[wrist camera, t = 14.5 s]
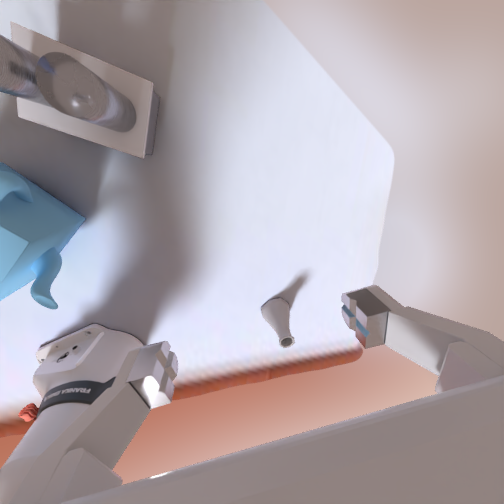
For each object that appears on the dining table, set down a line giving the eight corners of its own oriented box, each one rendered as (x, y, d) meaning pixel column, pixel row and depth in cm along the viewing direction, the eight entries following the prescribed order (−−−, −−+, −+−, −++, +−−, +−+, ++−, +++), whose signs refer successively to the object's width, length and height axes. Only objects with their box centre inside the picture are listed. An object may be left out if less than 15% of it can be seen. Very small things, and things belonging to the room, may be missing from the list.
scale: (53, 124, 29) (18, 117, 24) (51, 48, 26) (10, 21, 21) (154, 158, 33) (142, 158, 28) (164, 95, 30) (152, 82, 25)
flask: (293, 312, 51) (309, 344, 42) (268, 325, 51) (278, 359, 42) (282, 292, 48) (296, 323, 39) (255, 306, 48) (263, 339, 39)
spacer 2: (109, 136, 26) (57, 122, 18) (90, 95, 24) (22, 59, 16) (142, 127, 26) (105, 109, 18) (125, 86, 24) (76, 45, 16)
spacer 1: (44, 112, 24) (-44, 88, 16) (19, 66, 22) (-96, 13, 14) (81, 104, 24) (11, 77, 16) (58, 58, 23) (-33, 0, 14)
